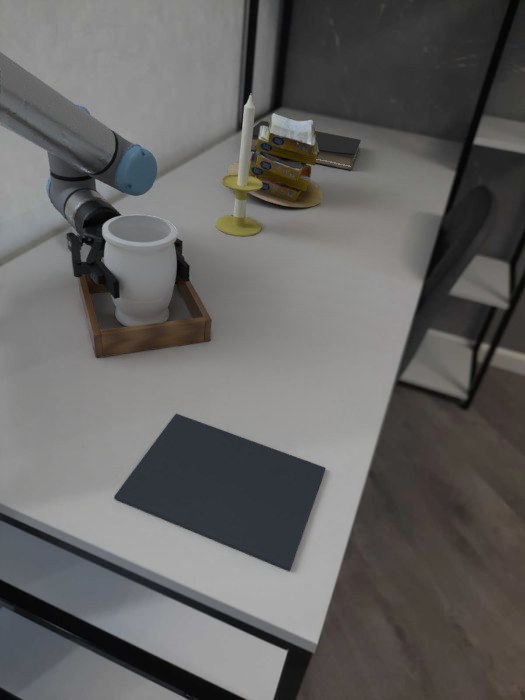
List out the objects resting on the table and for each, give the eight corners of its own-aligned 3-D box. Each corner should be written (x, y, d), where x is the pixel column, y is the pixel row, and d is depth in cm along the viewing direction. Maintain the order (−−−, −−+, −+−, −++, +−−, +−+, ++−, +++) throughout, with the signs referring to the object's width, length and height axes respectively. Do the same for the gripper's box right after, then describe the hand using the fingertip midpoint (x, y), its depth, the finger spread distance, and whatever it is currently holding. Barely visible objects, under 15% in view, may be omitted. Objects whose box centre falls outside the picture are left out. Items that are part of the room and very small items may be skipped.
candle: (268, 225, 116) (286, 93, 99) (247, 241, 108) (262, 102, 92) (230, 212, 118) (240, 82, 102) (206, 227, 111) (214, 89, 95)
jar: (188, 310, 86) (191, 226, 76) (151, 342, 78) (150, 252, 69) (134, 290, 88) (130, 206, 79) (94, 319, 81) (85, 230, 71)
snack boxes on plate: (331, 185, 140) (345, 120, 130) (309, 218, 121) (323, 145, 111) (246, 166, 145) (252, 101, 135) (211, 194, 126) (216, 122, 115)
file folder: (243, 135, 153) (263, 118, 172) (242, 149, 156) (261, 131, 175) (353, 156, 149) (361, 137, 168) (350, 171, 152) (358, 150, 171)
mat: (114, 499, 56) (113, 496, 56) (175, 415, 67) (175, 413, 66) (289, 571, 52) (289, 568, 51) (324, 470, 62) (325, 467, 62)
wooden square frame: (95, 357, 74) (93, 335, 71) (79, 291, 86) (77, 270, 84) (210, 341, 80) (211, 319, 77) (179, 281, 93) (180, 261, 90)
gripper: (157, 229, 97) (219, 286, 84) (29, 252, 85) (77, 322, 72) (156, 190, 92) (222, 244, 79) (21, 208, 81) (71, 275, 67)
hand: (153, 281), depth 75 cm, fingers closed on jar, 10 cm apart
